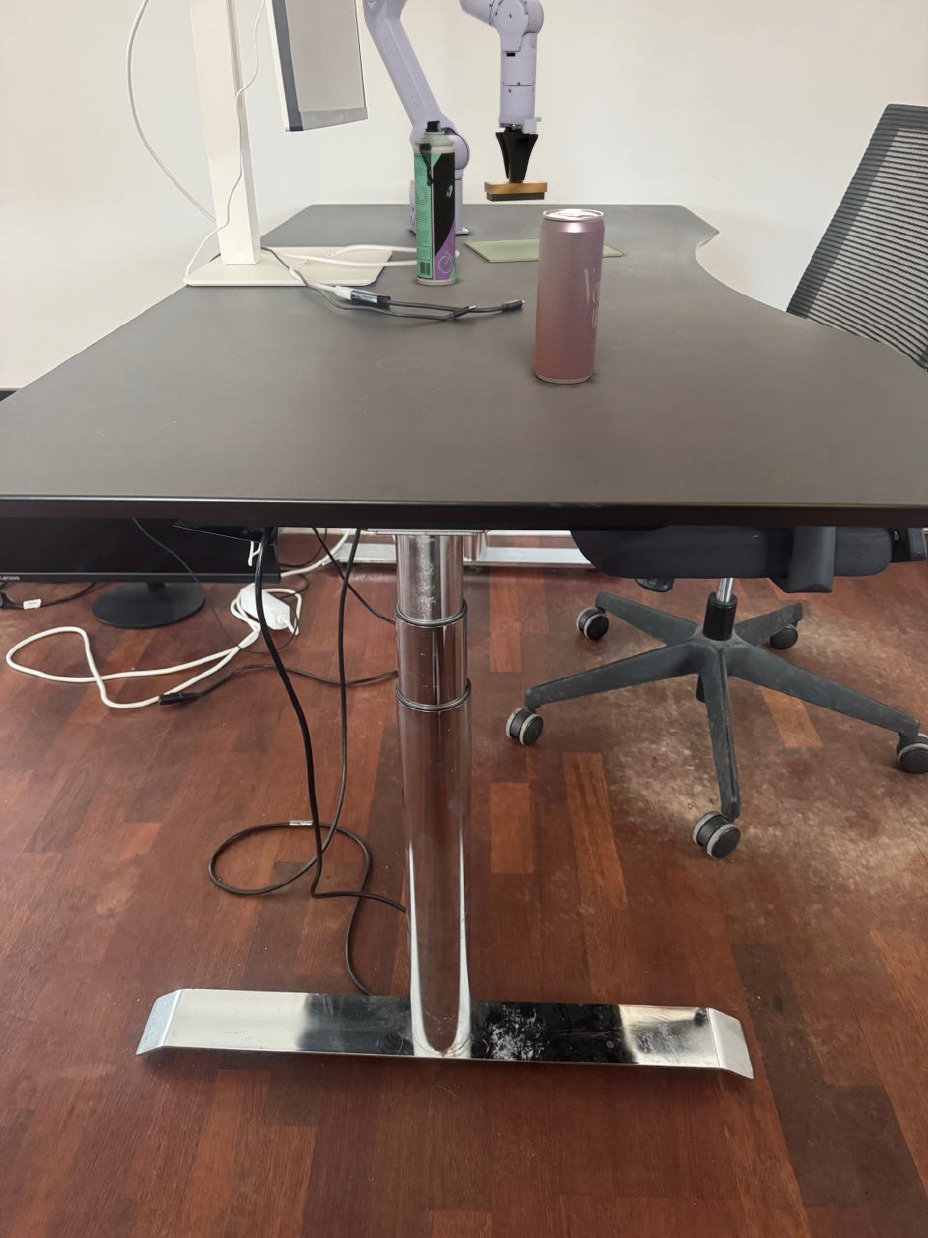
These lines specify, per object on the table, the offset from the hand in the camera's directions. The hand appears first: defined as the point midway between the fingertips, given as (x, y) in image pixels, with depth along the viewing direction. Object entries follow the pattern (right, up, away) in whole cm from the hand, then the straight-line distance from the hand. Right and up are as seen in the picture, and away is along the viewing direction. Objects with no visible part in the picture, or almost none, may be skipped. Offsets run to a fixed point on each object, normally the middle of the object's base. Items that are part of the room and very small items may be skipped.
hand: (515, 179), depth 148 cm
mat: (+4, -13, -4) cm, 15 cm away
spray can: (-13, -27, -23) cm, 38 cm away
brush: (0, -3, +2) cm, 3 cm away
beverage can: (+1, -50, -60) cm, 79 cm away
